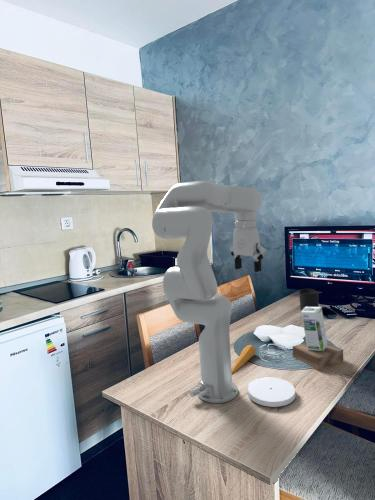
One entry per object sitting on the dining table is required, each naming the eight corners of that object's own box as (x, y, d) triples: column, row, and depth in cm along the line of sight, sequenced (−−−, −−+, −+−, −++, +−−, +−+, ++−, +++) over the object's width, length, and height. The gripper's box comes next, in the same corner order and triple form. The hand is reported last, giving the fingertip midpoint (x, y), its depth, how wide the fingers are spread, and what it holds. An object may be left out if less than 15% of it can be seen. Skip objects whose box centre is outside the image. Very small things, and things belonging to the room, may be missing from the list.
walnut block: (318, 372, 119) (317, 358, 118) (293, 359, 130) (292, 346, 129) (343, 363, 124) (343, 349, 124) (317, 351, 135) (316, 338, 134)
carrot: (249, 354, 137) (244, 344, 137) (259, 352, 134) (253, 342, 134) (226, 383, 121) (220, 371, 121) (236, 381, 118) (230, 369, 118)
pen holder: (320, 308, 183) (320, 289, 182) (316, 313, 175) (316, 294, 174) (302, 306, 188) (301, 288, 187) (297, 311, 180) (296, 292, 179)
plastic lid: (261, 380, 116) (260, 373, 116) (302, 392, 108) (302, 384, 107) (239, 400, 106) (238, 392, 105) (283, 415, 97) (283, 407, 97)
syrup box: (307, 350, 125) (300, 311, 123) (312, 342, 130) (305, 305, 128) (323, 351, 122) (316, 312, 120) (328, 343, 126) (321, 305, 124)
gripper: (222, 225, 136) (224, 269, 138) (257, 226, 122) (259, 274, 125) (235, 223, 140) (237, 266, 143) (270, 224, 127) (272, 270, 129)
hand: (247, 270), depth 134 cm, fingers open, 9 cm apart
